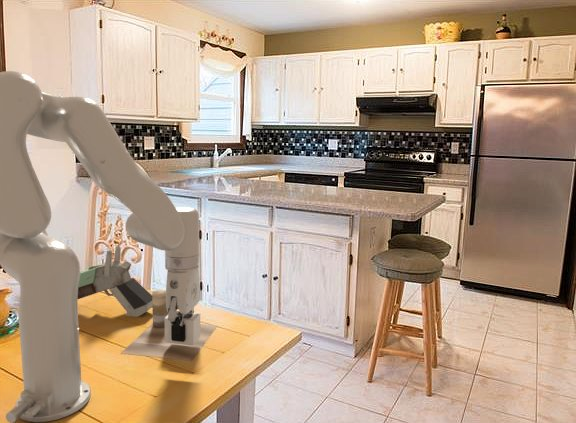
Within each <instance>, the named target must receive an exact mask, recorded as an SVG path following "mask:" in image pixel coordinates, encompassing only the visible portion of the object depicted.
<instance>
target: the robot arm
mask: <svg viewBox="0 0 576 423" xmlns="http://www.w3.org/2000/svg"><path fill="white" fill-rule="evenodd" d="M27 135H28V136H33V137H37V138H42V139H46V140H51V141H54V142H55V141H56V142H61V143H66V144H67V146H68V147H69V149H70V151H71V152H72V153H73V154H74V156H76V159H77V160H78V161H79V162H80V164H81V165H82V167H83V168H84V170H85V172H87V174H88V175H89V177H90V179H91V180H92V182H93V183H94V184H95V185H96V186H97V187H98V188H99V189H100V190H102V191H103V192H104V193H105V194H106V195H108V196H110V197H112V198H113V199H115V200H116V201H118V202H120V203H121V204H122V205H124V207H126V208H127V209H128V210H129V211H130V212H132V213H131V214H130V215H129V216H128V218H127V219H126V221H125V231H126V233H127V235H128V236H129V238H130V239H132V240H133V241H135V242H137V243H140V244H142V245H145V246H148V247H152V248H154V249H157V250H160V251H164V259H165V260H164V261H165V262H164V263H165V265H164V269H165V270H166V272H167V273H166V283H165V285H166V286H165V290H166V309H167V312H168V313H169V314H168V320H169V321H170V322H171V340H172V341H179V342H184V341H185V340H186V336H185V325H184V315H186V314H188V313H189V312H192V313H195V307H196V306H197V305H198V304H199V302H200V301H201V286H200V272H199V267H200V246H199V245H200V243H199V242H200V232H199V231H200V223H199V222H200V216H199V212H198V210H197V209H196V208H193V207H191V206H190V207H189V206H175V205H174V204H173V202H172V200H171V199H170V197H169V196H168V195H167V193H166V192H165V191H164V190H163V189H162V188H161V187H160V186H159V185H158V184H157V183H156V182H155V181H154V180H153V179H152V178H151V177H150V176H149V175H148V173H147V172H146V171H145V170H143V168H142V167H140V166H139V165H138V164H137V163H136V161H135V160H134V159H133V157H132V155H131V154H130V152H129V151H128V149H127V147H126V146H125V144H124V142H123V141H122V139H121V137H119V135H118V133H117V132H116V130H115V128H114V126H113V125H112V124H111V121H110V120H109V118H108V117H107V115H106V113H105V112H104V111H103V109H102V108H101V106H100V105H99V104H98V103H97V102H96V101H94V100H92V99H90V98H88V97H83V96H65V97H62V96H58V95H53V94H50V93H46V92H43V91H42V90H41V88H40V86H39V84H38V83H37V82H36V81H35V80H34V79H33V78H31V76H28V75H27V74H25V73H22V72H18V71H11V70H9V71H1V72H0V266H1V268H2V270H4V272H5V273H6V274H7V275H8V276H10V277H11V278H12V279H13V280H15V281H16V282H18V284H19V287H20V288H19V291H20V293H19V294H20V295H19V302H18V328H19V340H20V341H19V342H20V352H21V354H20V355H21V364H22V366H21V367H22V381H23V391H21V392H20V396H19V397H18V398H17V400H16V402H15V406H14V407H13V408H12V409H11V410H9V411H8V412H7V413H6V414H5V419H6V421H7V422H8V423H15V422H16V421H17V420H19V419H21V420H23V421H26V422H30V423H31V422H32V423H46V422H51V421H57V420H60V419H63V418H66V417H68V416H70V415H72V414H74V413H76V412H78V411H79V410H81V409H82V408H83V407H85V406H86V405H87V403H88V402H89V400H90V399H91V396H92V392H91V391H92V390H91V386H90V385H89V384H88V383H87V382H85V381H83V380H82V371H81V370H82V366H81V351H80V350H81V349H80V348H81V346H80V327H79V326H80V325H79V306H78V304H79V303H78V301H79V299H78V287H79V280H80V272H81V266H80V265H81V264H80V261H79V258H78V256H77V254H76V252H75V251H74V250H73V249H72V248H71V247H70V246H68V244H66V243H64V242H62V241H60V240H58V239H55V238H53V237H52V236H51V237H50V236H49V235H48V233H47V228H49V225H50V222H51V219H52V210H51V204H50V202H49V200H48V198H47V196H46V194H45V192H44V190H43V187H42V185H41V182H40V181H39V178H38V175H37V174H36V171H35V169H34V166H33V164H32V162H31V161H32V160H31V158H30V154H29V152H28V148H27ZM176 315H180V319H179V317H177V316H176Z"/></svg>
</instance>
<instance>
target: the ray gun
mask: <svg viewBox="0 0 576 423" xmlns="http://www.w3.org/2000/svg"><path fill="white" fill-rule="evenodd" d="M121 250H122V248H121V247H120V246H118V245H117V246H115V251H114V259H113V251H112V250H107V251H106V255H105V262H104V263H102V264H98V265H92V266H90V267H88V268H87V269H84V270H81V271H80V280H79V287H78V300H80V299H83V298H86V297H89V296H92V295H95V294H98V293H101V292H104V294H106V295H107V296H108V297H111V296H113V297H114V298H115V299H116V301H118V303H119V304H120V305H121V307H123V310H125V311H126V313H125V315H124V316H125V317H126V316H127V317H135V318H136V317H137V318H138V317H140V316H142V315H144V314H145V313H147V312H148V311H150V310H151V309H153V307H152V293H150V292H149V291H148V290H147V289H146V288H145V287H144V286H142V285H141V284H140V283H139V282H138V281H137V280H136V279H135V278H134V277H131V275H130V268H131V266H132V263H131V262H129V261H128V260H127V261H125V262H122V263H121ZM112 259H113V260H112Z"/></svg>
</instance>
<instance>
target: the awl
mask: <svg viewBox="0 0 576 423" xmlns="http://www.w3.org/2000/svg"><path fill="white" fill-rule="evenodd" d="M151 295H152V324H153V327H154V328H165V321H164V318H165V317H166V316H167V315H168V314H169V313H168V312H167V309H166V289H157V290H153V291H152V293H151Z"/></svg>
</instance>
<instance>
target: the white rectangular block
mask: <svg viewBox="0 0 576 423" xmlns="http://www.w3.org/2000/svg"><path fill="white" fill-rule="evenodd" d="M176 316H177V317H179V319H180V315H176ZM164 321H165V343H174V344H184V345H194V344H195V343H196V342H197V341H198V339H199V338H200V324H201V313H200V312H194V313H192V312H189V313H188V314H186V315H184V325H185V336H186V340H185V341H184V342H179V341H172V340H171V322H170V321H169V320H168V315H167V316H166V317H165V318H164Z"/></svg>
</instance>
